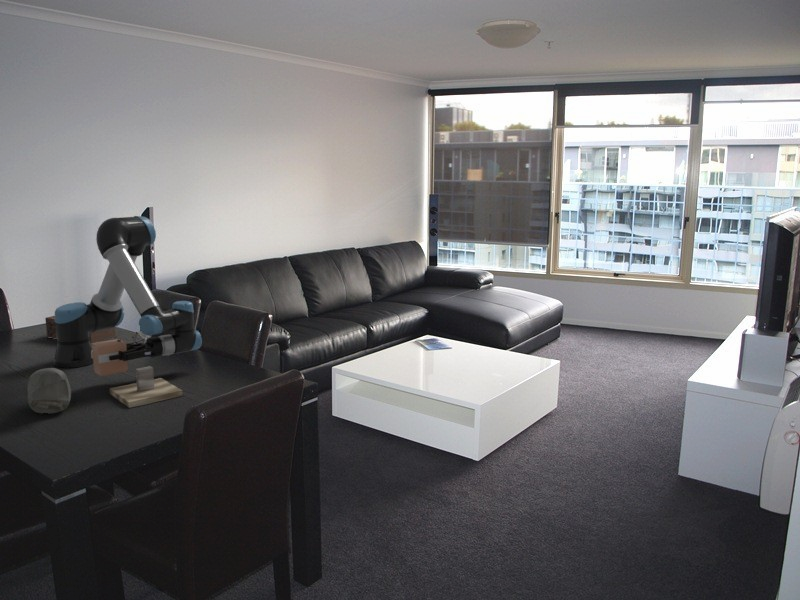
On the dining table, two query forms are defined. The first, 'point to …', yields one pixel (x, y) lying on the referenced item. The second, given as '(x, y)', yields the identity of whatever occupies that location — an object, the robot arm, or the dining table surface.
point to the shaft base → (145, 395)
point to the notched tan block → (108, 348)
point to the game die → (141, 337)
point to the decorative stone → (48, 391)
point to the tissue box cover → (93, 336)
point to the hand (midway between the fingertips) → (95, 356)
